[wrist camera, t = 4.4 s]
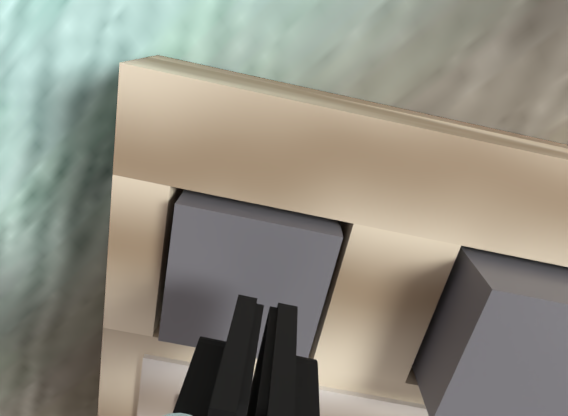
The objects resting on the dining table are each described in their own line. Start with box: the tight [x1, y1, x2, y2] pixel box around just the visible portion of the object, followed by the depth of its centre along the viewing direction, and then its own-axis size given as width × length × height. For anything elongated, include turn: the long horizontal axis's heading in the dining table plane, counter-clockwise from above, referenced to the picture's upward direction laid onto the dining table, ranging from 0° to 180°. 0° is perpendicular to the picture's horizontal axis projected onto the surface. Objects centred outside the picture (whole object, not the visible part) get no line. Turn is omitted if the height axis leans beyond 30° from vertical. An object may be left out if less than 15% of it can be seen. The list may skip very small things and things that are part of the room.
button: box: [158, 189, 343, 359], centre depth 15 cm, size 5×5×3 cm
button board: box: [98, 55, 568, 416], centre depth 17 cm, size 16×27×4 cm, turn 78°
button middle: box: [412, 246, 568, 416], centre depth 14 cm, size 5×5×3 cm
